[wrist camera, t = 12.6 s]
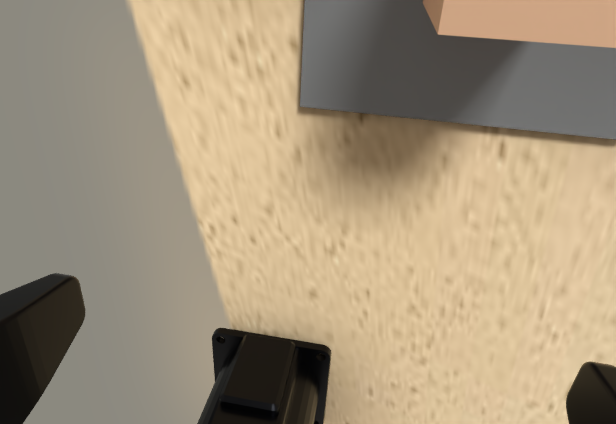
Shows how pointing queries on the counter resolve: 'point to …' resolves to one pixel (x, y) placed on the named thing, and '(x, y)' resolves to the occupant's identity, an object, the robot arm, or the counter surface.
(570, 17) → the block
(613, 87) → the mat
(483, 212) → the counter surface
